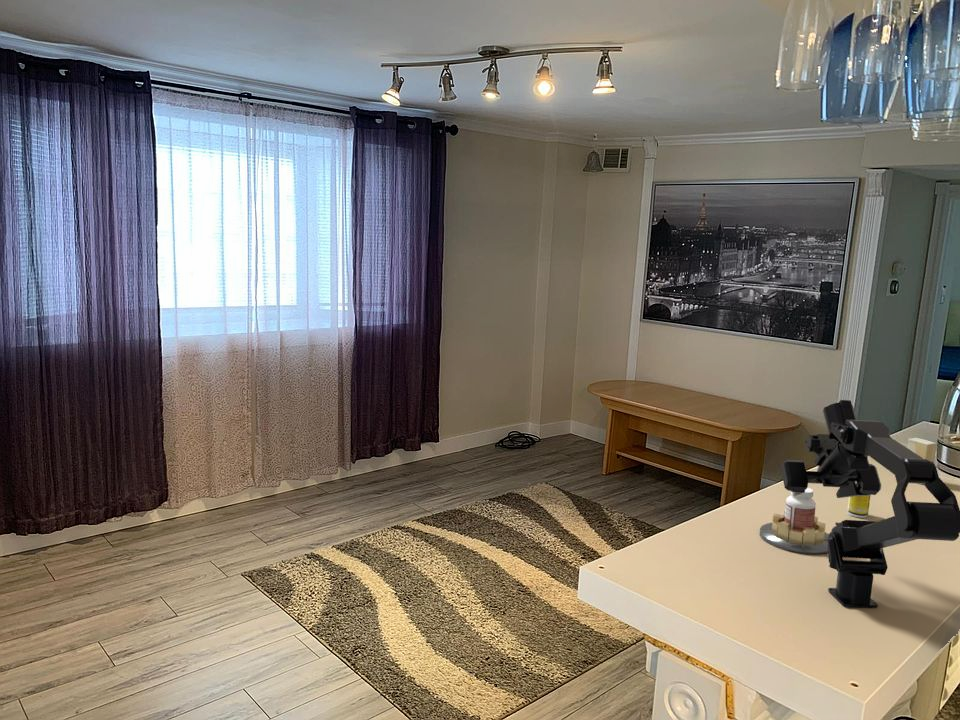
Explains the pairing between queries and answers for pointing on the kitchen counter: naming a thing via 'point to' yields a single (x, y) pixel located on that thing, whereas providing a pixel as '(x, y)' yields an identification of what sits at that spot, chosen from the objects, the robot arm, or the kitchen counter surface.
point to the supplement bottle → (858, 506)
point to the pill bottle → (800, 510)
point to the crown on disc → (796, 536)
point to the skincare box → (922, 448)
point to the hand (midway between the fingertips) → (815, 494)
